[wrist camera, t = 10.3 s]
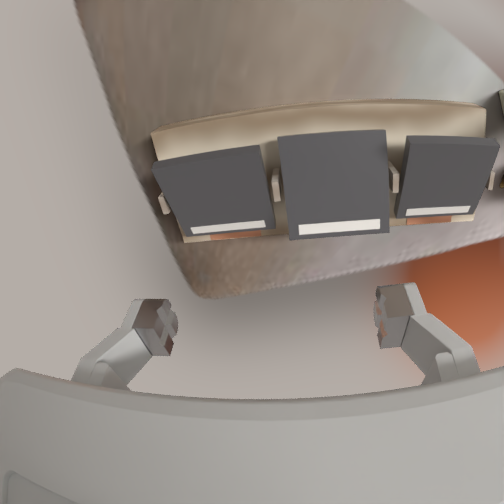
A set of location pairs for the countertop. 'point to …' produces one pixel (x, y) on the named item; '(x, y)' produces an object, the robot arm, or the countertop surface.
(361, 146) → the panel
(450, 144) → the rocker
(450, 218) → the switch panel
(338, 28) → the countertop surface
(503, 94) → the skincare box
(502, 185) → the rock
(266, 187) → the panel
